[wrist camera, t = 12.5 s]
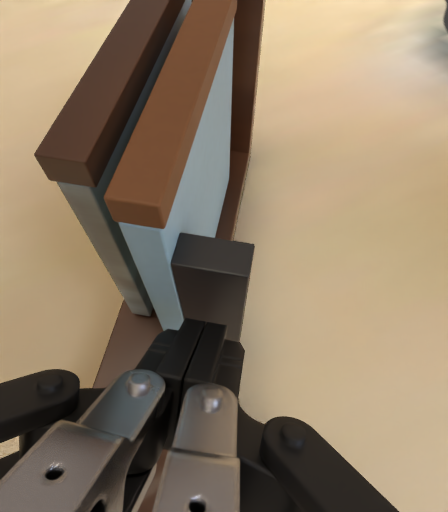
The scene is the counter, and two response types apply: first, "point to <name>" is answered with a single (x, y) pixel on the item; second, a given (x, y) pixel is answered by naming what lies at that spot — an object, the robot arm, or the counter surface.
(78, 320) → the counter surface
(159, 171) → the window pane
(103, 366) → the window frame
